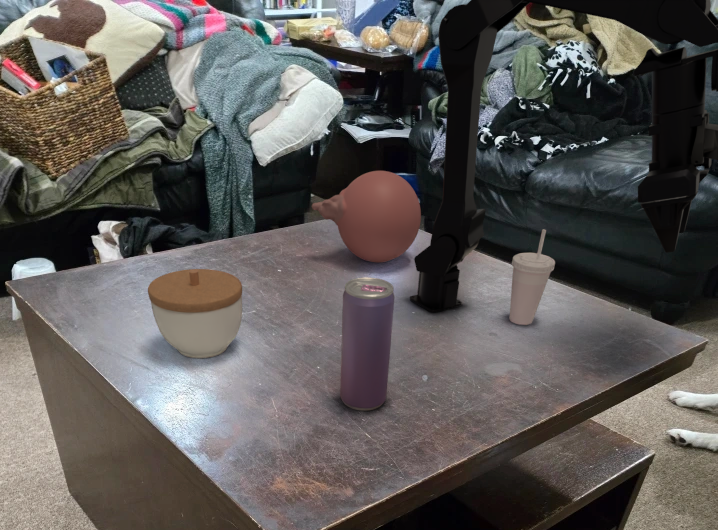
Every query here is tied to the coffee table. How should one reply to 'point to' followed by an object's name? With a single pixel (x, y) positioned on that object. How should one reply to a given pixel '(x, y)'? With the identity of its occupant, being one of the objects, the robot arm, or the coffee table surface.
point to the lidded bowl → (197, 310)
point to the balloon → (375, 215)
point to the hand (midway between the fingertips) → (675, 242)
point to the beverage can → (366, 342)
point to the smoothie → (529, 283)
